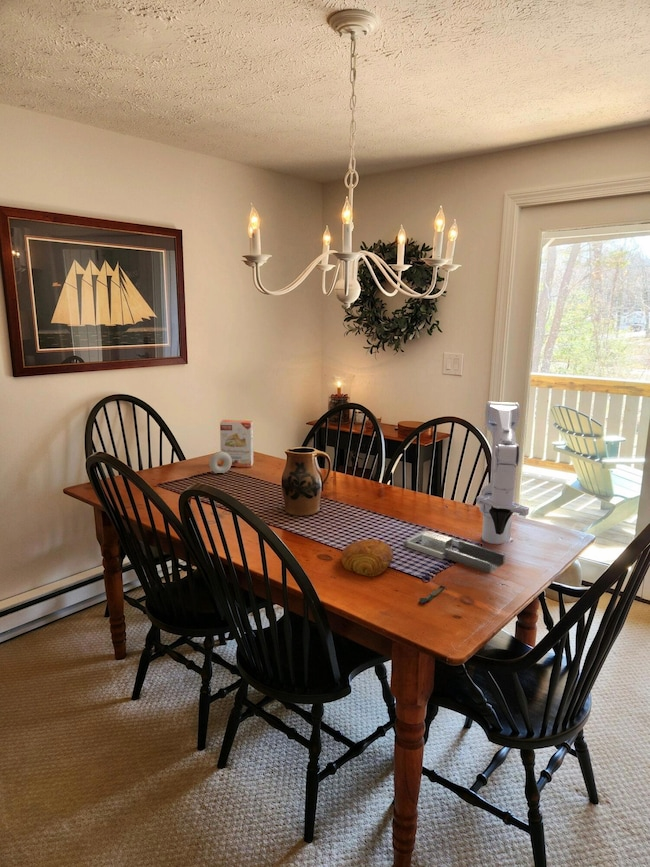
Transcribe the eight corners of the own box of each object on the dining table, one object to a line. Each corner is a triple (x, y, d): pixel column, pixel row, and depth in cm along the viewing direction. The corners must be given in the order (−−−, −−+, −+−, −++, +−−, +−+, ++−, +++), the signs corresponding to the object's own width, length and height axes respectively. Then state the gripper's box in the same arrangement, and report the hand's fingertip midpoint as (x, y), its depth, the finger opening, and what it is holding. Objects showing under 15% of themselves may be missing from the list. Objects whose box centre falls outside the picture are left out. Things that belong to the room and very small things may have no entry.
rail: (460, 551, 169) (460, 540, 168) (504, 565, 159) (505, 554, 159) (444, 560, 162) (445, 549, 161) (489, 576, 153) (490, 564, 152)
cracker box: (220, 467, 254) (219, 421, 249) (223, 463, 259) (222, 419, 255) (251, 468, 253) (250, 422, 248) (253, 464, 259) (253, 420, 254)
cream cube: (440, 547, 170) (440, 534, 169) (451, 550, 168) (452, 538, 167) (433, 550, 167) (433, 538, 166) (444, 554, 165) (445, 542, 164)
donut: (210, 476, 240) (210, 453, 237) (208, 474, 243) (207, 451, 240) (233, 473, 244) (232, 451, 242) (230, 471, 247) (230, 449, 245)
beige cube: (428, 543, 173) (429, 531, 172) (439, 547, 170) (440, 534, 169) (421, 547, 170) (421, 534, 169) (432, 551, 167) (433, 538, 166)
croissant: (398, 566, 163) (401, 539, 162) (381, 582, 149) (385, 553, 148) (351, 556, 169) (354, 530, 168) (331, 570, 154) (334, 541, 154)
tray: (425, 537, 178) (426, 530, 178) (462, 549, 170) (463, 541, 169) (403, 548, 170) (404, 541, 169) (441, 562, 161) (442, 554, 160)
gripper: (472, 484, 157) (469, 530, 160) (522, 496, 148) (518, 544, 151) (484, 479, 162) (481, 523, 165) (533, 490, 153) (529, 537, 156)
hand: (499, 533), depth 158 cm, fingers closed
